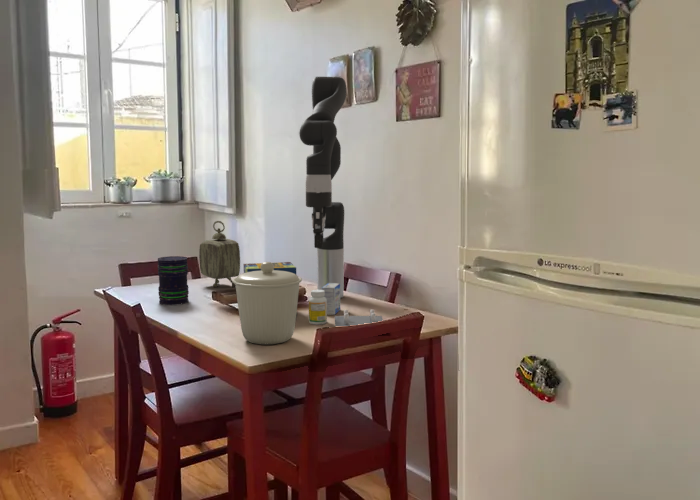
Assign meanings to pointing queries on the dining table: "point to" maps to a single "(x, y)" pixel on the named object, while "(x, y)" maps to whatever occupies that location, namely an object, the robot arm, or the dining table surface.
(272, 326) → the canister
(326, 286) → the medicine box
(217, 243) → the tabletop clock
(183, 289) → the storage jar
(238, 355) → the dining table surface
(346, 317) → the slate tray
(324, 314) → the supplement bottle
